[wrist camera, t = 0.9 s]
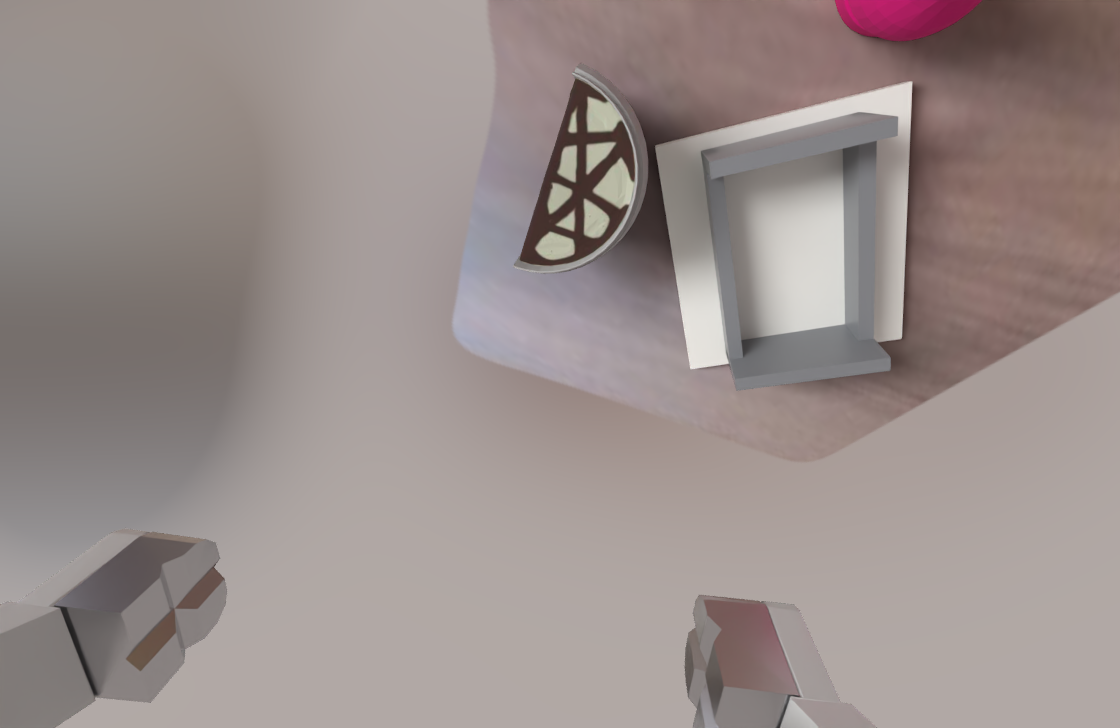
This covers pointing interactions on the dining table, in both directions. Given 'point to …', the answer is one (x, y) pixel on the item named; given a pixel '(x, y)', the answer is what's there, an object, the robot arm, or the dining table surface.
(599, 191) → the food container
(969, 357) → the dining table surface
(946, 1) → the pepper mill
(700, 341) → the slot stand
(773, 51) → the dining table surface
